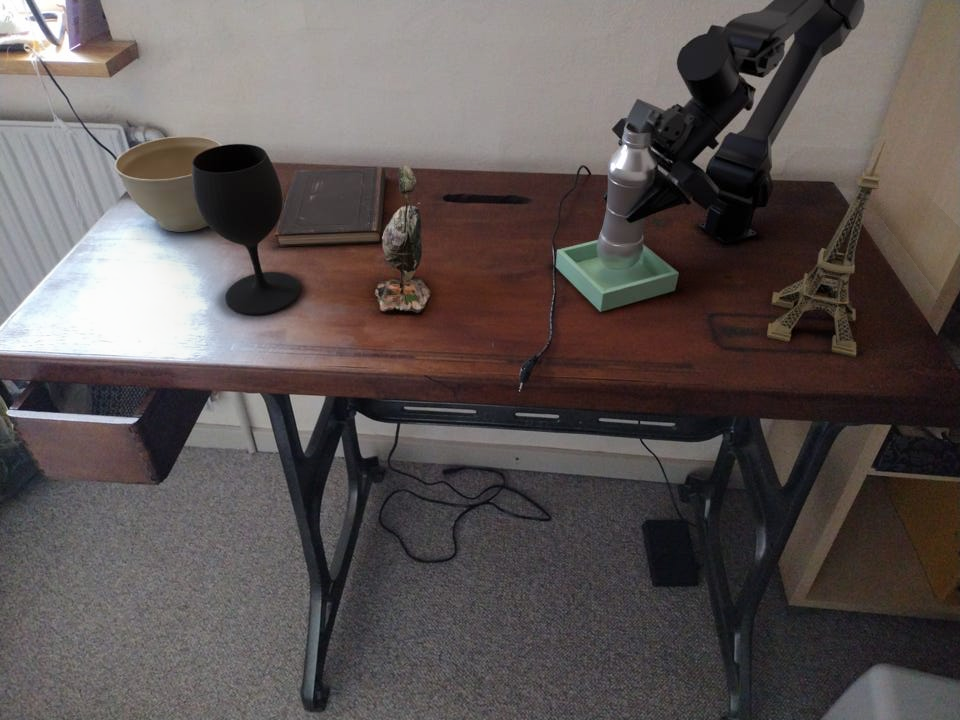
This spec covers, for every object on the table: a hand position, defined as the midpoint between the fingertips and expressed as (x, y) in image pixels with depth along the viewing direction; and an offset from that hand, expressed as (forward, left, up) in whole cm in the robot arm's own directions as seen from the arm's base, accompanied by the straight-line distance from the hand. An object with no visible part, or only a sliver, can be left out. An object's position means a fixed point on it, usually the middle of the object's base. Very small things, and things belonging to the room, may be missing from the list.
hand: (616, 210), depth 90 cm
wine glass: (+46, -17, -11) cm, 50 cm away
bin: (-1, 0, -11) cm, 11 cm away
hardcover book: (+30, -37, -11) cm, 49 cm away
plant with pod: (+28, -9, -11) cm, 31 cm away
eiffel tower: (-19, +20, -11) cm, 30 cm away
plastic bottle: (-2, 0, -9) cm, 9 cm away
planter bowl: (+53, -44, -11) cm, 70 cm away
